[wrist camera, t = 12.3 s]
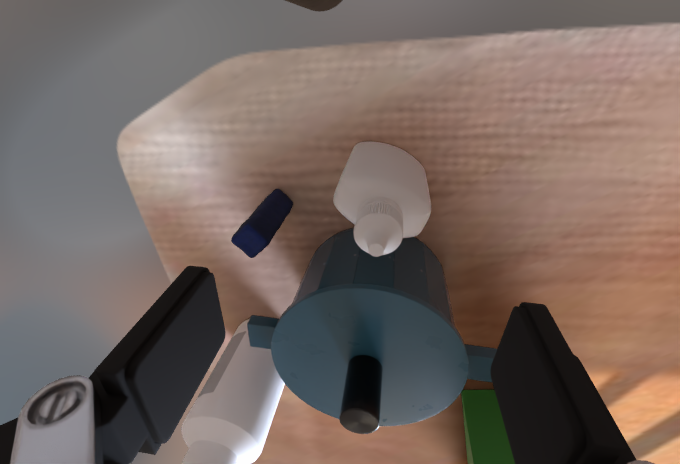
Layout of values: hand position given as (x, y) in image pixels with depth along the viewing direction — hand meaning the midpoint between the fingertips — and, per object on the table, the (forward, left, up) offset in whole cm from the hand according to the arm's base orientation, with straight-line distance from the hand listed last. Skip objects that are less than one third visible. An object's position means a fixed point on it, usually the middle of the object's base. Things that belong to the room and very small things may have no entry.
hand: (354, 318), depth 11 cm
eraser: (+4, -8, -17) cm, 19 cm away
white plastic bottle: (+21, -11, -17) cm, 29 cm away
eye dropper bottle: (+1, 0, -17) cm, 17 cm away
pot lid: (+12, 0, -9) cm, 15 cm away
